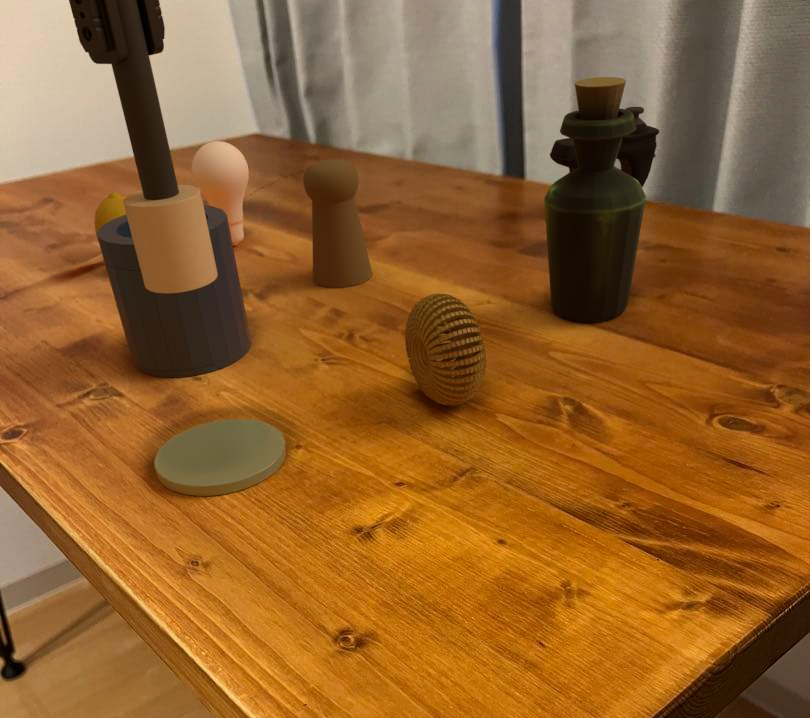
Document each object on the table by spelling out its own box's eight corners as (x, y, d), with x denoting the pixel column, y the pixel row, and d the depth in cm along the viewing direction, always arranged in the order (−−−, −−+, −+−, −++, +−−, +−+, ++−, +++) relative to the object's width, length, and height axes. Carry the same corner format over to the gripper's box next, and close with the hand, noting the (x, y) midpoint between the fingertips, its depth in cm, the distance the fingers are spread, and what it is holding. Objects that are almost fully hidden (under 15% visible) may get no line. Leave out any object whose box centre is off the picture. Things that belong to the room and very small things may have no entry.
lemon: (140, 278, 93) (120, 200, 88) (97, 276, 94) (74, 199, 90) (168, 260, 97) (149, 185, 92) (125, 258, 99) (105, 184, 94)
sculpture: (496, 415, 63) (495, 308, 58) (446, 429, 62) (440, 322, 57) (447, 373, 69) (442, 273, 64) (400, 386, 68) (392, 285, 63)
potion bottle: (651, 299, 78) (671, 72, 67) (613, 333, 72) (629, 94, 62) (567, 286, 82) (574, 70, 71) (526, 318, 76) (527, 90, 66)
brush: (182, 297, 51) (99, -56, 41) (129, 288, 53) (38, -51, 43) (232, 272, 54) (166, -64, 44) (180, 264, 56) (105, -58, 46)
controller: (658, 203, 100) (667, 107, 94) (562, 222, 97) (564, 125, 91) (638, 194, 103) (645, 101, 97) (544, 212, 100) (545, 118, 94)
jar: (108, 365, 75) (69, 236, 69) (189, 321, 82) (161, 200, 75) (195, 386, 70) (162, 250, 64) (274, 338, 77) (252, 210, 71)
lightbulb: (224, 258, 96) (203, 151, 89) (197, 247, 100) (175, 144, 93) (271, 243, 99) (254, 139, 92) (243, 233, 103) (225, 132, 96)
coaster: (129, 477, 60) (126, 467, 59) (217, 418, 66) (215, 409, 65) (228, 509, 56) (225, 499, 55) (312, 443, 62) (310, 433, 61)
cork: (383, 269, 89) (372, 155, 83) (351, 290, 85) (337, 171, 79) (334, 263, 92) (320, 152, 85) (301, 283, 88) (283, 168, 81)
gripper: (84, -373, 42) (169, 38, 52) (-197, -428, 33) (-27, 82, 43) (199, -411, 39) (266, 37, 49) (-80, -484, 30) (74, 85, 40)
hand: (128, 56), depth 46 cm, fingers closed on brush, 2 cm apart
